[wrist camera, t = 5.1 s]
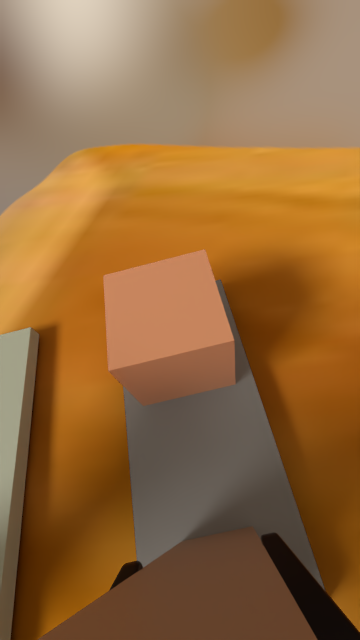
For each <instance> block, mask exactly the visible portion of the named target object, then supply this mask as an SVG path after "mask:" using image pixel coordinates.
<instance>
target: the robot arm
mask: <svg viewBox="0 0 360 640" xmlns="http://www.w3.org/2000/svg"><path fill="white" fill-rule="evenodd" d="M261 543H262V545H263V546H264V547H265V549H266V551H267V552H268V554H269V556H270V558H271V559H272V561H273V563H274V565H275V566H276V568H277V570H278V572H279V573H280V575H281V577H282V579H283V580H284V582H285V584H286V586H287V587H288V589H289V591H290V593H291V594H292V596H293V598H294V600H295V601H296V603H297V605H298V607H299V608H300V610H301V612H302V614H303V615H304V617H305V619H306V621H307V622H308V624H309V626H310V628H311V629H312V631H313V633H314V634H315V636H316V638H317V640H360V632H359V631H358V630H357V629H356V627H355V626H354V625H353V624H352V623H351V621H350V620H349V619H348V618H347V617H346V615H345V614H344V613H343V612H342V610H341V609H340V608H339V607H338V606H337V604H336V603H335V602H334V601H333V600H332V598H331V597H330V596H329V595H328V594H327V592H326V591H325V590H324V589H323V588H322V586H321V585H320V584H319V583H318V582H317V580H316V579H315V578H314V577H313V575H312V574H311V573H310V572H309V571H308V569H307V568H306V567H305V566H304V565H303V563H302V562H301V561H300V560H299V559H298V557H297V556H296V555H295V554H294V553H293V551H292V550H291V549H290V548H289V547H288V545H287V544H286V543H285V542H284V540H283V539H282V538H281V537H280V536H279V535H278V534H277V533H276V532H272V533H267V534H263V535H261ZM142 568H143V566H142V563H141V562H140V561H134V562H129V563H126V564H124V565H123V566H122V568H121V570H120V572H119V574H118V575H117V577H116V579H115V581H114V583H113V584H112V586H111V588H110V590H111V589H113V588H114V587H116V586H117V585H119V584H120V583H121V582H123V581H124V580H126V579H127V578H129V577H130V576H132V575H133V574H135V573H136V572H138V571H139V570H141V569H142ZM110 590H109V591H110Z"/></svg>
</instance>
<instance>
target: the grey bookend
mask: <svg viewBox="0 0 360 640" xmlns="http://www.w3.org/2000/svg"><path fill="white" fill-rule="evenodd" d="M38 343H39V334H38V333H37V332H36V331H35V330H33V329H32V328H31V327H30V328H26V329H22V330H18V331H14V332H10V333H6V334H2V335H0V640H10V639H11V628H12V618H13V607H14V597H15V586H16V575H17V565H18V554H19V544H20V533H21V522H22V512H23V501H24V491H25V480H26V470H27V459H28V448H29V438H30V427H31V417H32V406H33V396H34V385H35V374H36V364H37V353H38Z"/></svg>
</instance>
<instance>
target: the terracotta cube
mask: <svg viewBox="0 0 360 640" xmlns="http://www.w3.org/2000/svg"><path fill="white" fill-rule="evenodd" d="M104 295H105V315H106V335H107V354H108V371H109V372H110V373H111V374H112V375H113V376H114V377H115V378H116V379H117V380H118V381H119V382H120V383H121V384H122V385H123V386H124V387H125V388H126V389H127V390H128V391H129V392H130V393H131V394H132V395H133V396H134V397H135V398H136V399H137V400H138V401H139V402H140V403H141V404H142V405H143V406H146V405H150V404H154V403H159V402H163V401H167V400H171V399H176V398H180V397H184V396H188V395H193V394H197V393H201V392H205V391H210V390H214V389H218V388H222V387H227V386H231V385H235V384H236V381H235V345H234V338H233V335H232V332H231V328H230V325H229V322H228V319H227V316H226V313H225V310H224V307H223V304H222V301H221V297H220V294H219V291H218V288H217V285H216V282H215V279H214V276H213V273H212V270H211V266H210V263H209V260H208V257H207V254H206V251H205V250H201V251H197V252H193V253H189V254H185V255H181V256H178V257H174V258H170V259H166V260H162V261H158V262H154V263H150V264H146V265H143V266H139V267H135V268H131V269H127V270H123V271H119V272H115V273H111V274H108V275H104Z"/></svg>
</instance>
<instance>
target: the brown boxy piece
mask: <svg viewBox="0 0 360 640" xmlns="http://www.w3.org/2000/svg"><path fill="white" fill-rule="evenodd" d="M215 282H216V285H217V288H218V291H219V294H220V297H221V301H222V304H223V307H224V310H225V313H226V316H227V319H228V322H229V325H230V328H231V332H232V335H233V338H234V345H235V381H236V384H235V385H231V386H227V387H222V388H218V389H214V390H210V391H205V392H201V393H197V394H193V395H188V396H184V397H180V398H176V399H171V400H167V401H163V402H159V403H154V404H150V405H146V406H143V405H142V404H141V403H140V402H139V401H138V400H137V399H136V398H135V397H134V396H133V395H132V394H131V393H130V392H129V391H128V390H127V389H126V388H125V387H124V386H123V389H124V401H125V414H126V427H127V440H128V453H129V465H130V478H131V491H132V504H133V516H134V529H135V542H136V555H137V561H140V562H141V563H142V566H143V568H142V569H141V570H139V571H138V572H136V573H135V574H133V575H132V576H130V577H129V578H127V579H126V580H124V581H123V582H121V583H120V584H119V585H117V586H116V587H114V588H113V589H111V590H110V591H108V592H107V593H105V594H104V595H102V596H101V597H99V598H98V599H97V600H95V601H94V602H92V603H91V604H89V605H88V606H86V607H85V608H83V609H82V610H80V611H79V612H77V613H76V614H75V615H73V616H72V617H70V618H69V619H67V620H66V621H64V622H63V623H61V624H60V625H58V626H57V627H55V628H54V629H53V630H51V631H50V632H48V633H47V634H45V635H44V636H42V637H41V638H39V639H38V640H317V638H316V636H315V634H314V633H313V631H312V629H311V628H310V626H309V624H308V622H307V621H306V619H305V617H304V615H303V614H302V612H301V610H300V608H299V607H298V605H297V603H296V601H295V600H294V598H293V596H292V594H291V593H290V591H289V589H288V587H287V586H286V584H285V582H284V580H283V579H282V577H281V575H280V573H279V572H278V570H277V568H276V566H275V565H274V563H273V561H272V559H271V558H270V556H269V554H268V552H267V551H266V549H265V547H264V546H263V545H262V543H261V535H263V534H267V533H272V532H276V533H277V534H278V535H279V536H280V537H281V538H282V539H283V540H284V542H285V543H286V544H287V545H288V547H289V548H290V549H291V550H292V551H293V553H294V554H295V555H296V556H297V557H298V559H299V560H300V561H301V562H302V563H303V565H304V566H305V567H306V568H307V569H308V571H309V572H310V573H311V574H312V575H313V577H314V578H315V579H316V580H317V582H318V583H319V584H320V585H321V586H322V588H323V589H324V590H325V588H324V585H323V582H322V579H321V576H320V573H319V570H318V567H317V564H316V561H315V558H314V555H313V552H312V549H311V546H310V543H309V540H308V537H307V534H306V531H305V529H304V526H303V523H302V520H301V517H300V514H299V511H298V508H297V505H296V502H295V499H294V496H293V493H292V490H291V487H290V484H289V481H288V478H287V475H286V472H285V469H284V466H283V463H282V460H281V457H280V454H279V451H278V448H277V445H276V442H275V440H274V437H273V434H272V431H271V428H270V425H269V422H268V419H267V416H266V413H265V410H264V407H263V404H262V401H261V398H260V395H259V392H258V389H257V386H256V383H255V380H254V377H253V374H252V371H251V368H250V365H249V362H248V359H247V356H246V353H245V351H244V348H243V345H242V342H241V339H240V336H239V333H238V330H237V327H236V324H235V321H234V318H233V315H232V312H231V309H230V306H229V303H228V300H227V297H226V294H225V291H224V288H223V285H222V282H221V280H217V281H215Z"/></svg>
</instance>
